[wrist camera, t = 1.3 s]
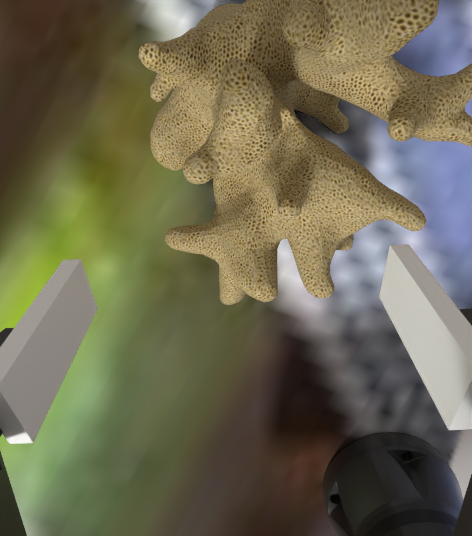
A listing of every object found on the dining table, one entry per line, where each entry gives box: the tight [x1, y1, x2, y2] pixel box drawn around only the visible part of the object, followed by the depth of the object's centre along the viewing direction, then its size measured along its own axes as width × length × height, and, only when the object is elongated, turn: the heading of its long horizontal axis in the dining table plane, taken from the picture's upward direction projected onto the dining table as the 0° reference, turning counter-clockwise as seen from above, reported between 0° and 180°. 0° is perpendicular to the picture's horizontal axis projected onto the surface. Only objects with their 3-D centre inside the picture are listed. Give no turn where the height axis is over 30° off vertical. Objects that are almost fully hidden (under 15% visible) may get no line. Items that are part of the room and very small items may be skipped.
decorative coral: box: [139, 0, 472, 305], centre depth 28 cm, size 26×22×25 cm
